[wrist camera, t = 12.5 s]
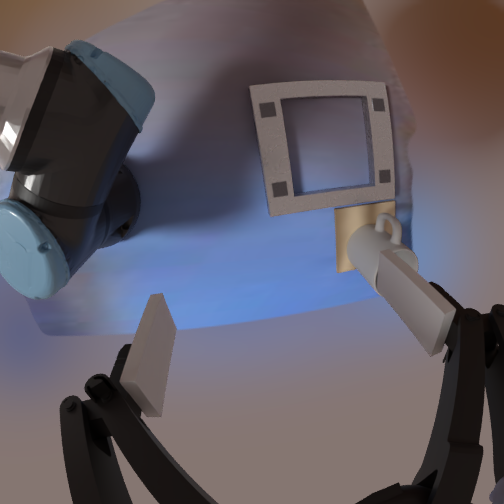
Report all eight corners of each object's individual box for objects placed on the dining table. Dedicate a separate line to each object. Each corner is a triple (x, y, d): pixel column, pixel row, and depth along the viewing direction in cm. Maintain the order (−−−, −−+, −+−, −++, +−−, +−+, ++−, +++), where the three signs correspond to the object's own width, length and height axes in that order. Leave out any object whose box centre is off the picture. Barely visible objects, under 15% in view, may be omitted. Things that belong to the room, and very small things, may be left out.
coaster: (336, 271, 49) (337, 273, 48) (334, 208, 44) (335, 209, 43) (391, 259, 49) (392, 260, 48) (393, 200, 44) (395, 201, 43)
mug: (382, 265, 48) (411, 295, 38) (343, 268, 48) (368, 301, 38) (392, 205, 43) (428, 225, 33) (350, 203, 43) (382, 225, 33)
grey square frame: (268, 213, 43) (270, 217, 41) (248, 88, 35) (249, 85, 33) (389, 195, 43) (395, 198, 41) (379, 83, 35) (385, 82, 33)
